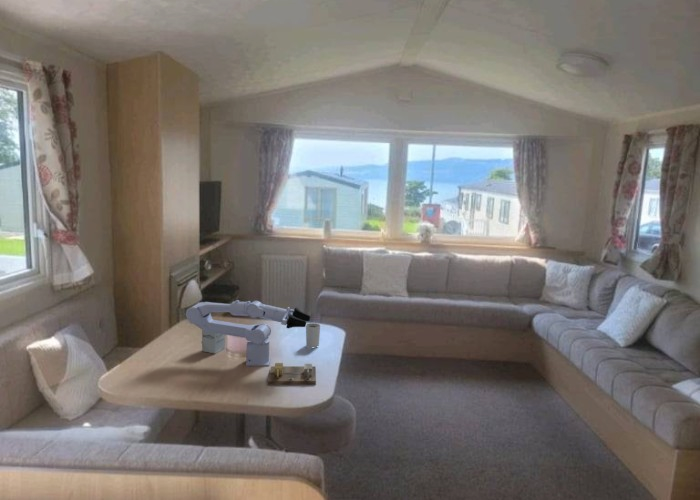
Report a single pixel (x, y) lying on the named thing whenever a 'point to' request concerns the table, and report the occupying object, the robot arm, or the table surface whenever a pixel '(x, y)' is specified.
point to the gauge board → (294, 375)
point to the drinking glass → (312, 334)
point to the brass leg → (278, 369)
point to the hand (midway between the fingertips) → (307, 321)
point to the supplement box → (213, 342)
